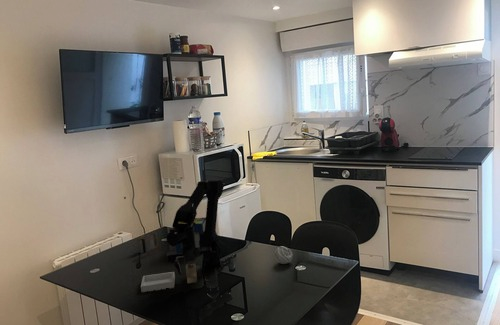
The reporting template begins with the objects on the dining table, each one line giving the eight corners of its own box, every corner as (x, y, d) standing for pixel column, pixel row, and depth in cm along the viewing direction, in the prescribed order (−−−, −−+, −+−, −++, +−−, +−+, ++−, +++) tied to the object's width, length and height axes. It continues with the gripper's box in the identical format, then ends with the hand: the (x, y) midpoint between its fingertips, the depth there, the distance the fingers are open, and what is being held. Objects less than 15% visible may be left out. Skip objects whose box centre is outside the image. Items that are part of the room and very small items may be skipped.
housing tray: (174, 277, 185) (174, 271, 185) (174, 287, 174) (173, 281, 174) (143, 281, 183) (143, 275, 183) (141, 292, 172) (140, 286, 172)
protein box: (181, 247, 225) (178, 218, 223) (209, 245, 223) (206, 217, 221) (175, 254, 215) (171, 224, 213) (204, 253, 213) (201, 223, 211)
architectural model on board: (143, 254, 220) (141, 236, 219) (139, 253, 222) (137, 235, 220) (158, 247, 230) (156, 229, 228) (154, 246, 231) (152, 229, 230)
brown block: (196, 276, 184) (195, 261, 183) (197, 282, 178) (195, 266, 177) (187, 277, 183) (185, 262, 182) (187, 283, 177) (185, 267, 177)
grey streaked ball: (286, 267, 185) (285, 250, 184) (272, 265, 189) (270, 248, 188) (296, 261, 191) (294, 245, 190) (281, 259, 196) (280, 242, 195)
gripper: (164, 247, 169) (168, 284, 171) (211, 241, 172) (214, 278, 174) (165, 239, 180) (169, 274, 182) (209, 233, 183) (213, 268, 185)
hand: (191, 273), depth 180 cm, fingers open, 9 cm apart
